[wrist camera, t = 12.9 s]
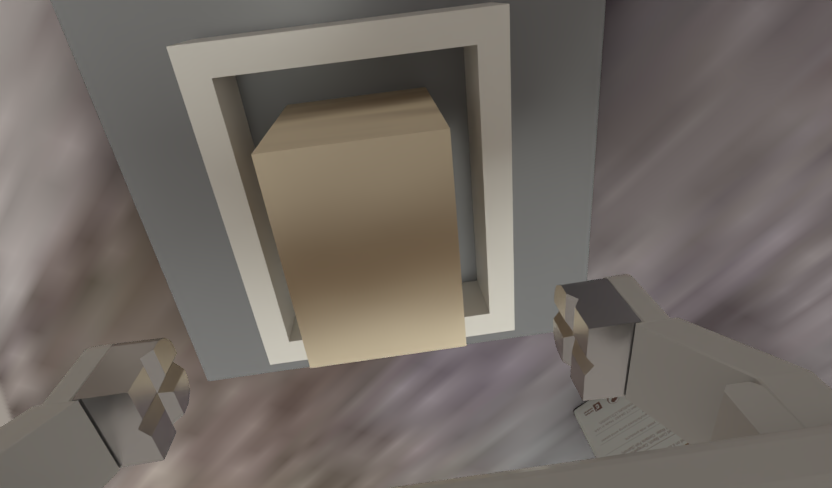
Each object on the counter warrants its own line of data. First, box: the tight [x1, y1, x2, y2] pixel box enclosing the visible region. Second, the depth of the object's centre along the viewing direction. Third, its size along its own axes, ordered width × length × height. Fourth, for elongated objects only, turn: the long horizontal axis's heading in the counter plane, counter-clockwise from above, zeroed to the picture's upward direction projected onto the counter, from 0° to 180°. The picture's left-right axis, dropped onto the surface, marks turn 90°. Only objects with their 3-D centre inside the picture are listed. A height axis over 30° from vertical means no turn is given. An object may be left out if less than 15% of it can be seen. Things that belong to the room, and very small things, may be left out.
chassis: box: [50, 0, 606, 381], centre depth 18 cm, size 17×18×4 cm
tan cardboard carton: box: [251, 87, 467, 368], centre depth 16 cm, size 7×5×6 cm
